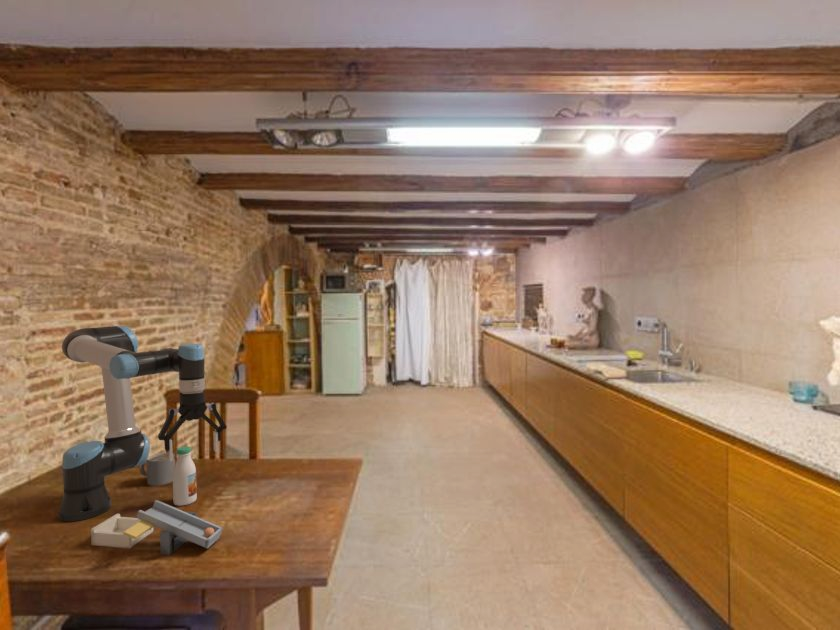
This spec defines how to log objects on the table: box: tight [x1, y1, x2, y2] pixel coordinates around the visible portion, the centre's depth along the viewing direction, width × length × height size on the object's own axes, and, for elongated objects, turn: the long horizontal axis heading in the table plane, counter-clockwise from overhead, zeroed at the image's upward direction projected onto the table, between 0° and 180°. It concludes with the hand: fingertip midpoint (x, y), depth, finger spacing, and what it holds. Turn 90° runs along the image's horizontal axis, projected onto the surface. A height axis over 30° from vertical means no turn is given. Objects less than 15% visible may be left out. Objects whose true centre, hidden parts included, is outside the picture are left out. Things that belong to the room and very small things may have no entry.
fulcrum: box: [159, 511, 198, 556], centre depth 140 cm, size 3×13×7 cm, turn 171°
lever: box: [123, 499, 224, 550], centre depth 137 cm, size 24×16×3 cm, turn 82°
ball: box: [204, 528, 214, 538], centre depth 139 cm, size 3×3×3 cm
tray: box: [90, 513, 155, 549], centre depth 143 cm, size 13×10×5 cm
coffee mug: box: [139, 452, 176, 487], centre depth 188 cm, size 13×10×10 cm
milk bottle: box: [172, 446, 198, 507], centre depth 168 cm, size 8×8×20 cm
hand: (194, 455), depth 151 cm, fingers open, 13 cm apart
